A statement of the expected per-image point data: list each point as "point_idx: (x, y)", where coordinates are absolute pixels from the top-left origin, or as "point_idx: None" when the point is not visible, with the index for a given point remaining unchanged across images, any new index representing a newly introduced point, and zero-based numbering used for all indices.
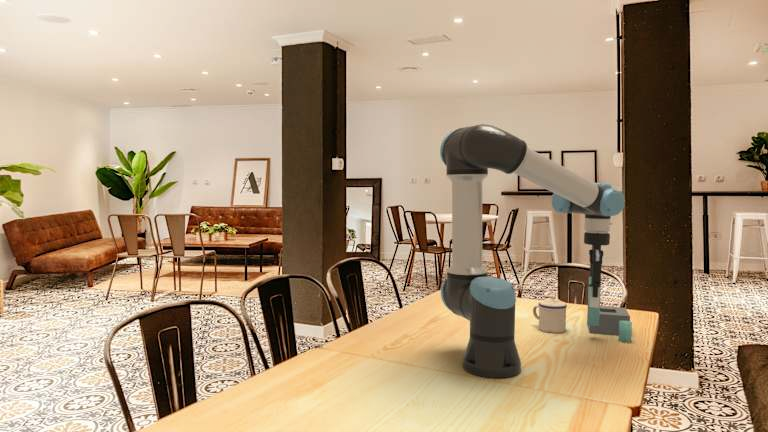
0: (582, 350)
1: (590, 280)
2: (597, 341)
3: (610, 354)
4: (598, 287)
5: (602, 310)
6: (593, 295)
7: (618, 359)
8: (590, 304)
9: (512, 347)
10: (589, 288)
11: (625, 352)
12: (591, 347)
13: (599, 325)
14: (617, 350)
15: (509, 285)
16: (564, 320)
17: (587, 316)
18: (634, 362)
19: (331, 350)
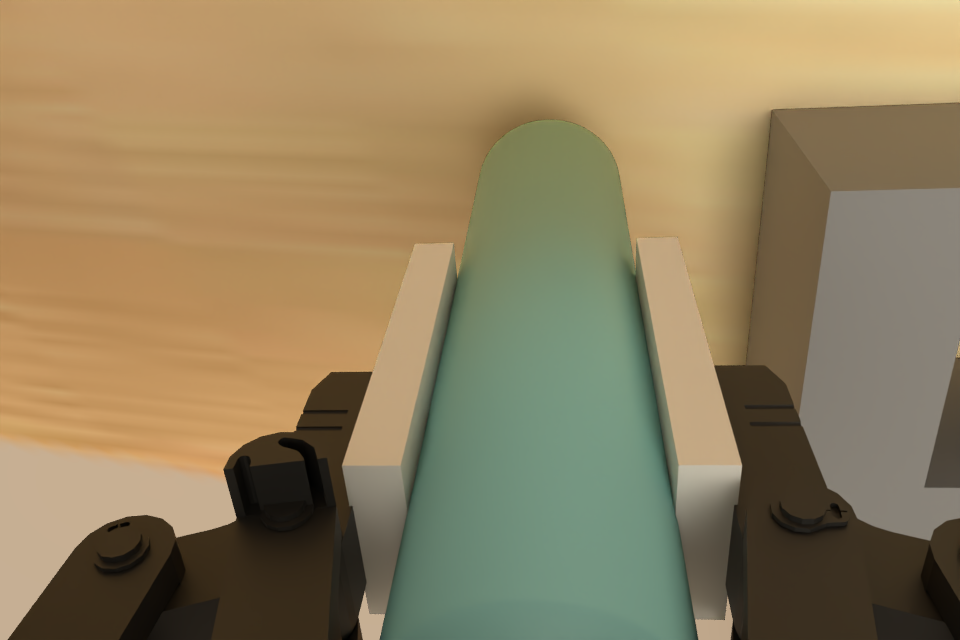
0: (77, 29)
1: (431, 563)
2: (455, 176)
3: (103, 258)
4: (366, 585)
5: None
6: (314, 402)
7: (10, 303)
8: (412, 272)
9: None
10: (470, 407)
11: (223, 365)
12: (222, 115)
13: (780, 242)
14: (246, 316)
15: None
16: None
17: (526, 156)
18: (11, 394)
19: None
